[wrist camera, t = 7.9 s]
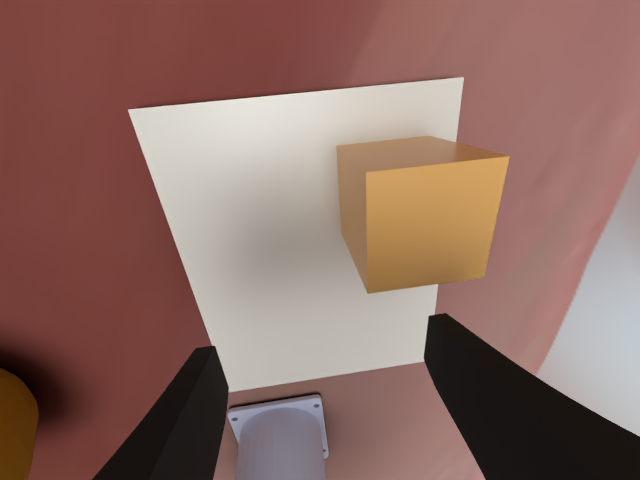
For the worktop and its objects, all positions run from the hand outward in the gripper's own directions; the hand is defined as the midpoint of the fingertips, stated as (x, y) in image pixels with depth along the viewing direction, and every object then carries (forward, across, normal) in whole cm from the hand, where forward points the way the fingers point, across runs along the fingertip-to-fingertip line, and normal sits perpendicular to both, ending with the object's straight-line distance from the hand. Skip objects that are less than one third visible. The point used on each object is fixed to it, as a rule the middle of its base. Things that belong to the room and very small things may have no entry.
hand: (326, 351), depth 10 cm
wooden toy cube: (+8, -4, -3) cm, 10 cm away
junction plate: (+9, -1, +2) cm, 10 cm away
